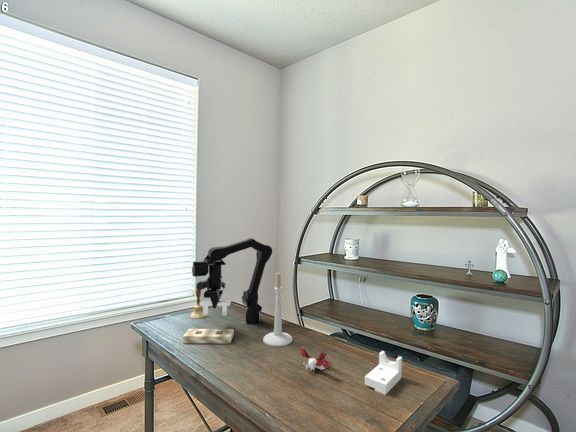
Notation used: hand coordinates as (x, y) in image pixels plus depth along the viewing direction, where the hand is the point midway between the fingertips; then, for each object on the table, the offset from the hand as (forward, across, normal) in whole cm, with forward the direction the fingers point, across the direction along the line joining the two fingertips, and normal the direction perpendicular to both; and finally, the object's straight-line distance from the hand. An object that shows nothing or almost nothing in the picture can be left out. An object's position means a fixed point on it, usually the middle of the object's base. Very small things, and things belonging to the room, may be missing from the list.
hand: (215, 307), depth 152 cm
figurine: (+10, +36, +45) cm, 59 cm away
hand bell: (+10, -17, -13) cm, 24 cm away
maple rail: (+10, +12, 0) cm, 16 cm away
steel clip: (+3, 0, 0) cm, 3 cm away
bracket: (+11, +44, +67) cm, 81 cm away
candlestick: (+10, +12, +30) cm, 34 cm away
